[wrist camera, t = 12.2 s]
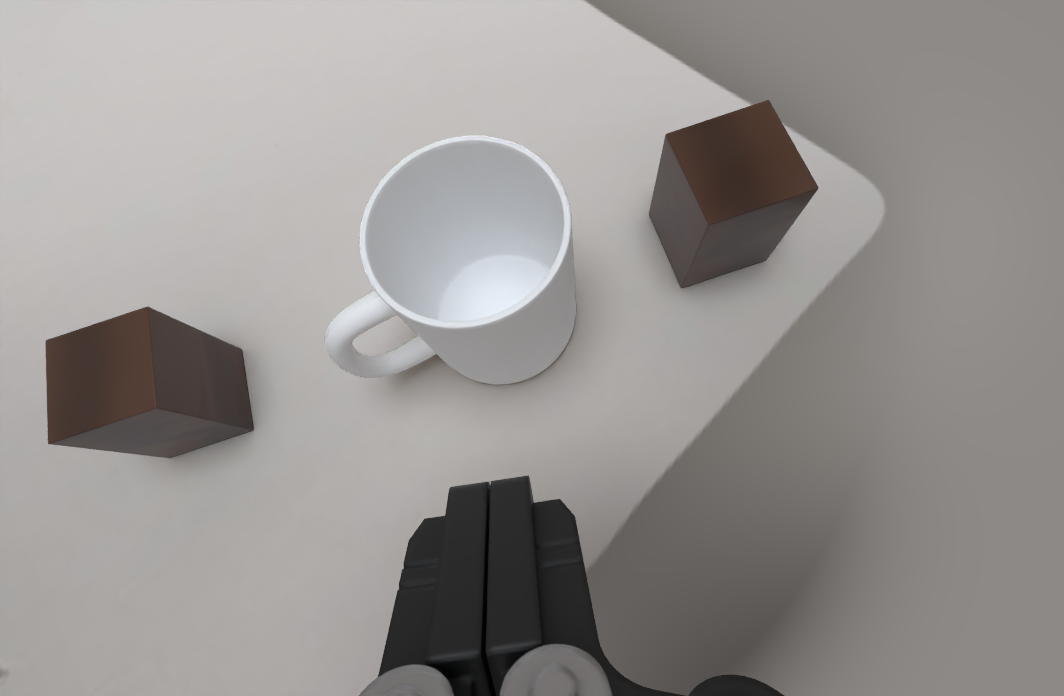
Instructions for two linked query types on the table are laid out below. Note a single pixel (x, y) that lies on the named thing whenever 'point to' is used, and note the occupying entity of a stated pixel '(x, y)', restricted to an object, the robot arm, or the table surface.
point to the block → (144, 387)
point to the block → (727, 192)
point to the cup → (465, 263)
